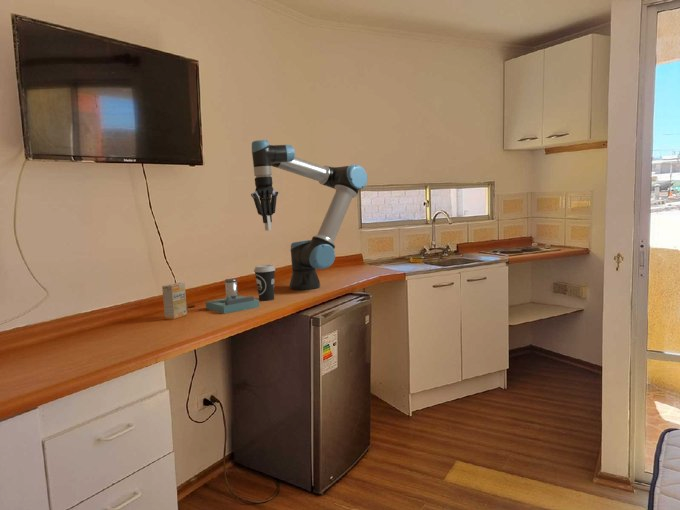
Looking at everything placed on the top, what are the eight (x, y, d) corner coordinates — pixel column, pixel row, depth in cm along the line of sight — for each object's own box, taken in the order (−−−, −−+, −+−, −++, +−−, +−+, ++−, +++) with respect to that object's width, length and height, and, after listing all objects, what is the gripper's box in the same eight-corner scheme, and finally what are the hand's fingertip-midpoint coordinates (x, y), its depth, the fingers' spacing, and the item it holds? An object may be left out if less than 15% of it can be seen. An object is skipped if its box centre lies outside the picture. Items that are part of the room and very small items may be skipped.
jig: (240, 302, 228) (239, 292, 227) (259, 306, 215) (258, 295, 215) (206, 308, 217) (205, 298, 217) (224, 313, 205) (223, 302, 205)
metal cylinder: (235, 306, 220) (233, 278, 218) (240, 307, 216) (238, 279, 215) (225, 308, 217) (222, 279, 215) (230, 309, 213) (228, 280, 212)
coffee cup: (273, 301, 226) (271, 267, 224) (252, 301, 228) (250, 267, 226) (280, 297, 235) (278, 264, 234) (260, 297, 237) (258, 264, 236)
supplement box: (174, 319, 199) (171, 286, 198) (164, 319, 201) (161, 285, 200) (188, 315, 207) (185, 282, 206) (178, 314, 209) (175, 282, 207)
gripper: (270, 176, 235) (275, 228, 237) (245, 177, 226) (251, 231, 229) (280, 175, 229) (285, 228, 232) (254, 176, 221) (260, 232, 223)
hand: (268, 230), depth 230 cm, fingers closed
